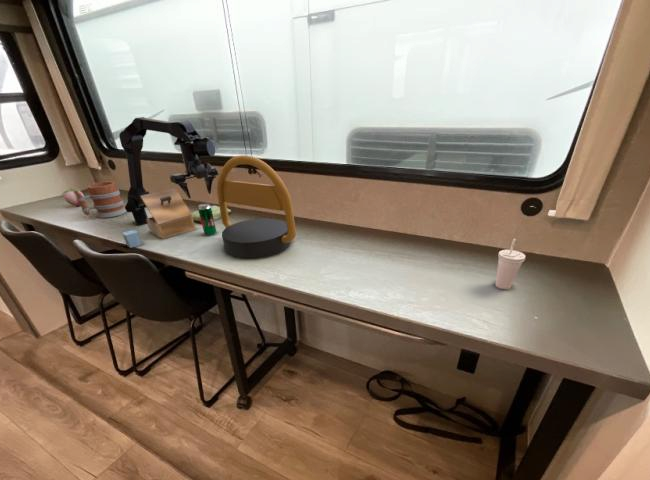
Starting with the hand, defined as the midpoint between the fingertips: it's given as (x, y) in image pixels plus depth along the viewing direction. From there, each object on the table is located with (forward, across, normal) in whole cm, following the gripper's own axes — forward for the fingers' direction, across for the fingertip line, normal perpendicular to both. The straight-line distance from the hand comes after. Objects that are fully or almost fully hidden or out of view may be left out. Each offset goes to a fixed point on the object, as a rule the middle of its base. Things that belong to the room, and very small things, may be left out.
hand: (199, 196), depth 140 cm
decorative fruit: (+13, -32, +90) cm, 97 cm away
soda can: (+13, -4, -11) cm, 18 cm away
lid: (+2, -13, +5) cm, 14 cm away
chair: (+13, +2, -37) cm, 39 cm away
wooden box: (+13, -13, +6) cm, 19 cm away
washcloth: (+13, +7, +10) cm, 18 cm away
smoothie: (+13, +30, -116) cm, 120 cm away
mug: (+13, -26, +56) cm, 63 cm away
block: (+13, -30, +3) cm, 33 cm away
